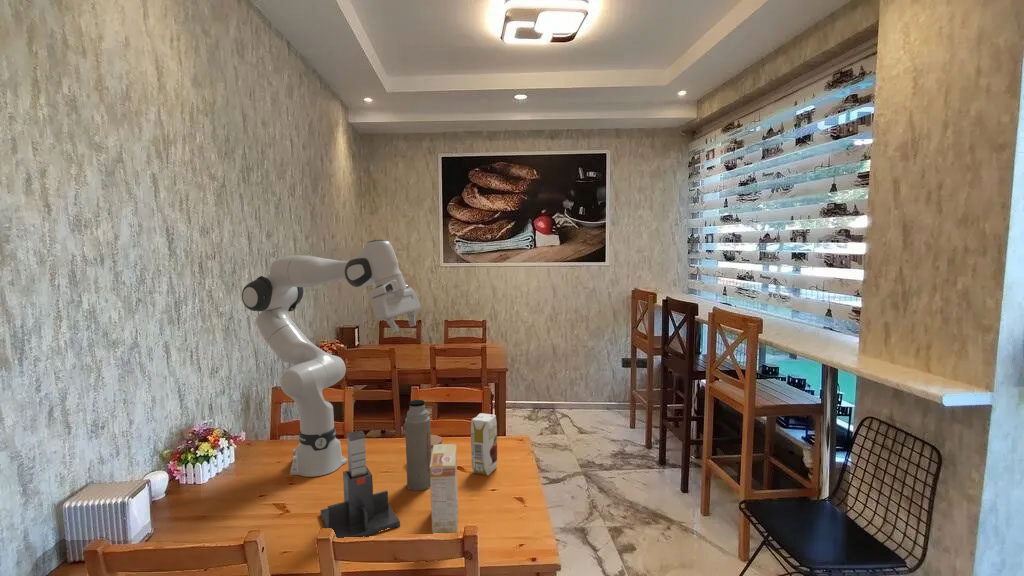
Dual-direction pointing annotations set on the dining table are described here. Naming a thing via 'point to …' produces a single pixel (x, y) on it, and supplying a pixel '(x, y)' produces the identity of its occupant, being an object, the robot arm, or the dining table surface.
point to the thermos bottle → (418, 446)
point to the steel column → (356, 454)
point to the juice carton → (484, 443)
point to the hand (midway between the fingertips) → (405, 328)
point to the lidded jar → (435, 441)
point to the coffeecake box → (444, 488)
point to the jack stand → (360, 509)
